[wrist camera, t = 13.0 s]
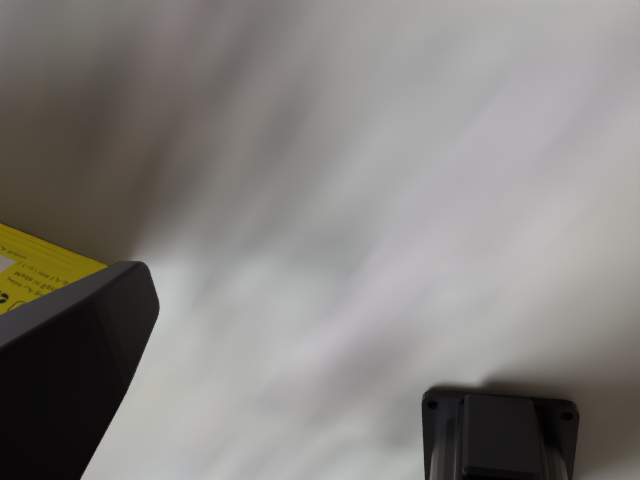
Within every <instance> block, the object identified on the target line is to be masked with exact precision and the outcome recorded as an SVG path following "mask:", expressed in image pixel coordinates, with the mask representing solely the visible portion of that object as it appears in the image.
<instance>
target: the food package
mask: <svg viewBox="0 0 640 480" xmlns="http://www.w3.org/2000/svg"><path fill="white" fill-rule="evenodd" d="M106 267H108V265H106V264H104V263H100V262H98V261H96V260H94V259H90V258H87V257H84V256H82V255H79V254H77V253H74V252H72V251H69V250H67V249H64V248H62V247H59V246H57V245H54V244H52V243H49V242H47V241H44V240H42V239H39V238H37V237H34V236H31V235H29V234H26V233H24V232H21V231H19V230H16V229H14V228H11V227H9V226H6V225H4V224H1V223H0V315H1V314H3V313H5V312H7V311H10V310H12V309H14V308H16V307H19V306H21V305H23V304H25V303H28V302H30V301H32V300H34V299H37V298H39V297H41V296H43V295H46V294H48V293H50V292H52V291H54V290H57V289H59V288H61V287H63V286H66V285H68V284H70V283H72V282H75V281H77V280H79V279H81V278H84V277H86V276H88V275H90V274H93V273H95V272H97V271H99V270H102V269H104V268H106Z"/></svg>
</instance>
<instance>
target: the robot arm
mask: <svg viewBox="0 0 640 480" xmlns="http://www.w3.org/2000/svg"><path fill="white" fill-rule="evenodd" d="M159 308H160V306H159V299H158V296H157V293H156V290H155V286H154V283H153V280H152V277H151V273H150V270H149V268H148V266H147V265H146V264H145V263H143V262H141V261H120V262H117V263H115V264H113V265H111V266H108V267H106V268H104V269H102V270H99V271H97V272H95V273H93V274H90V275H88V276H86V277H84V278H81V279H79V280H77V281H75V282H72V283H70V284H68V285H66V286H63V287H61V288H59V289H57V290H54V291H52V292H50V293H48V294H46V295H43V296H41V297H39V298H37V299H34V300H32V301H30V302H28V303H25V304H23V305H21V306H19V307H16V308H14V309H12V310H10V311H7V312H5V313H3V314H1V315H0V480H80V479H81V477H82V475H83V474H84V472H85V470H86V468H87V466H88V464H89V462H90V460H91V459H92V457H93V455H94V453H95V451H96V449H97V447H98V446H99V444H100V442H101V440H102V438H103V436H104V434H105V432H106V431H107V429H108V427H109V425H110V423H111V421H112V419H113V417H114V416H115V414H116V412H117V410H118V408H119V406H120V404H121V402H122V400H123V398H124V396H125V395H126V393H127V390H128V388H129V386H130V384H131V381H132V379H133V377H134V374H135V372H136V369H137V367H138V364H139V362H140V360H141V357H142V355H143V352H144V350H145V347H146V345H147V342H148V340H149V337H150V335H151V333H152V330H153V328H154V325H155V323H156V320H157V318H158V315H159ZM430 401H436V402H437V403H431V402H430ZM565 411H568V412H570V413H567V414H564V413H562V412H565ZM422 425H423V447H424V469H425V480H572V475H573V467H574V459H575V450H576V442H577V433H578V425H579V412H578V407H577V405H576V404H575V403H573V402H571V401H567V400H557V399H543V398H530V397H516V396H503V395H490V394H476V393H463V392H450V391H436V390H430V391H427V392H425V393H424V394H423V397H422Z"/></svg>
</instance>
